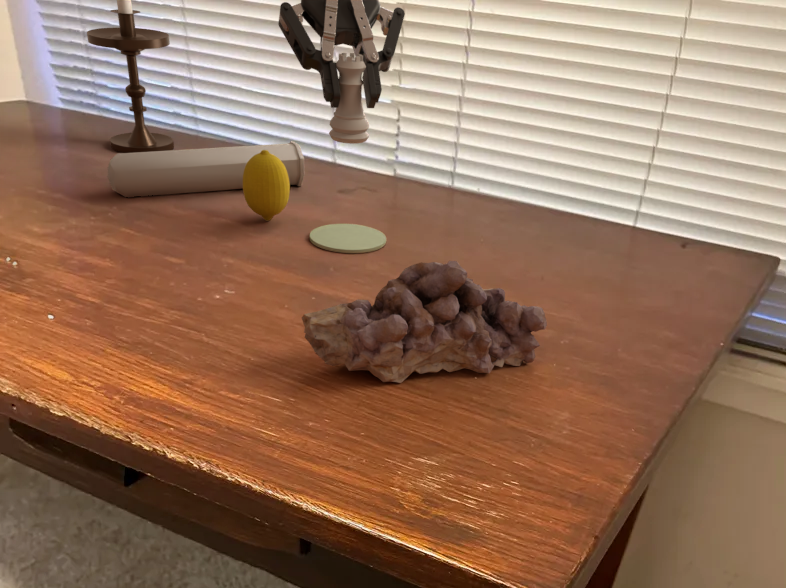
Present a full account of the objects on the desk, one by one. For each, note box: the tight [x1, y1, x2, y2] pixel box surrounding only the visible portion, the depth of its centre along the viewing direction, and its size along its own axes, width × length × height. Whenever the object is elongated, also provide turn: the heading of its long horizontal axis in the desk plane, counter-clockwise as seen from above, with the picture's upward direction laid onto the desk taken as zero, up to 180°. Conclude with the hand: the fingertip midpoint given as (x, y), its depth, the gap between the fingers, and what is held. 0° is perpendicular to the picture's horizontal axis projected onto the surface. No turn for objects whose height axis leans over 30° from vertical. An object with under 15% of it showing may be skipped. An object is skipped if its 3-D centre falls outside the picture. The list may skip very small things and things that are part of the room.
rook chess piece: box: [328, 52, 370, 145], centre depth 86 cm, size 4×4×8 cm
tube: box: [106, 140, 305, 198], centre depth 106 cm, size 5×5×25 cm
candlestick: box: [86, 0, 175, 153], centre depth 110 cm, size 11×11×35 cm
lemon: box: [242, 150, 291, 222], centre depth 96 cm, size 6×6×8 cm
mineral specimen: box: [301, 260, 548, 384], centre depth 69 cm, size 20×10×10 cm
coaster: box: [309, 223, 387, 254], centre depth 95 cm, size 9×9×1 cm
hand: (354, 102), depth 85 cm, fingers closed on rook chess piece, 3 cm apart
